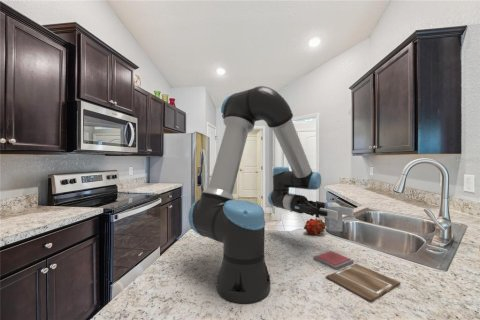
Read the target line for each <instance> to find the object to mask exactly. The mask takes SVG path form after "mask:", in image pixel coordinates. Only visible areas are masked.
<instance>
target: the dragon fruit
mask: <svg viewBox="0 0 480 320" xmlns="http://www.w3.org/2000/svg"><path fill="white" fill-rule="evenodd" d="M303 230H305V233H306V234H308V235H315V236H316V237H317V236H318V235H321V233H324V232H326V225H325V221H323V219H318V218H316V217H315V218H310V219H309V220H306V221H305V224H304V226H303Z"/></svg>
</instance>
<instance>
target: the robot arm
mask: <svg viewBox="0 0 480 320" xmlns="http://www.w3.org/2000/svg"><path fill="white" fill-rule="evenodd" d="M220 109H221V110H220V111H221V114H222V115H221V116H222V117H221V118H222V119H223V124H224V126H225V128H224V132H223V135H222V140H221V143H220V145H219V146H220V147H219V148H218V149H219V150H218V152H217V156H216V160H215V164H214V167H213V170H212V173H211V177H210V180H209V184H208V187H207V188H205V189H204V190H203V191H201V195H200V197H199V199H197V200H195V201H194V202H193V203H192V204H191V206H190V207H189V210H188V223H189V226H190V227H191V229H192V230H193V232H195V233H197V234H198V235H199V236H201V237H204V238H208V239H211V240H214V241H215V242H219V243H221V244H223V246H222V247H223V249H222V250H223V254H222V261H221V264H220V268H219V271H218V273H217V277H216V291H217V293H218V294H219V295H220V296H221V297H222V298H223V299H225V300H227V301H229V302H233V303H237V304H251V303H253V304H254V303H257V302H259V301H261V300H263V299H265V298H267V296H268V295H269V294H270V292H271V283H272V282H271V277H270V274H269V271H268V270H269V269H268V267H267V263H266V260H265V236H266V235H265V233H266V231H265V229H266V228H265V227H266V220H265V211H264V208H263V207H262V206H261V205H260V204H258V203H256V202H254V201H250V200H242V199H235V198H234V195H233V193H234V190H235V185H236V181H237V177H238V173H239V169H240V166H241V162H242V159H243V153H244V150H245V147H246V143H247V139H248V135H249V133H251V132H252V131H253V130H254V127H255V124H256V122H258V121H264V122H265V123H266V125H267V127H268V128H270V129H272V131H273V133H274V135H275V138H276V139H277V141H278V143H279V146H280V148H281V150H282V152H283V154H284V157H285V158H286V161H287V163H288V165H289V167H288V166H274V167H273V169H272V170H273V171H272V191H270V193H269V195H268V197H267V199H268V203H269V204H270V205H271V206H272V207H275V208H279V209H283V210H286V211H289V212H290V213H293V212H295V213H297V214H301V215H302V214H306V215H309V216H310V217H311V216H312V217H314V216H315V219H316V218H317V219H318V218H320V217H323V218H325V217H327V218H330V219H334V220H338V211H333V210H328V209H324V205H325V203H326V202H325V201H324V202H323V201H319V200H318V201H317V200H316V201H313V200H309V199H308V198H307V197H306V196H305V195H302V194H297V193H290V188H291V189H299V190H300V189H302V190H309V191H310V190H313V191H315V190H319V189H320V188H321V185H322V176H321V174H320V173H319V172H318V171H313V170H312V168H311V164H310V163H309V161H308V158H307V155H306V153H305V149H304V147H303V144H302V142H301V140H300V137H299V135H298V132H297V129H296V128H295V124H294V122H293V120H292V119H293V118H294V114H293V112H292V109H291V107H290V105H289V104H288V102H287V100H286V99H285V98H284V96H282V95H281V94H280V93H279V91H276V90H275V89H273V88H271V87H269V86H268V87H267V86H264V85H263V86H262V85H259V86H255V87H253V88H250V89H246V90H243V91H240V92H235V93H233V94H231V95H229V96H227V97H225V99H224V100H223V101H222V105H221V108H220ZM290 169H291V170H290ZM336 203H337V204H339V203H338V202H336ZM340 206H341V207H342V216H343V215H344V216H348V217H354V211H355V209H354V208H351V207H346V206H343V205H340Z"/></svg>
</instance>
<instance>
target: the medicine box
mask: <svg viewBox="0 0 480 320" xmlns="http://www.w3.org/2000/svg"><path fill="white" fill-rule="evenodd" d="M324 203H325V205H324V209H328V210H333V211H338V220H334V219H330V218H327V217H324V223H325V228H327V229H328V231H329V232H340V233H342V232H343V214H342V207H343V206H342V205H340V204H339V203H338V202H329V201H328V202H324ZM337 203H338V204H337ZM341 206H342V207H341Z"/></svg>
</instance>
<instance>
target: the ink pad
mask: <svg viewBox="0 0 480 320" xmlns="http://www.w3.org/2000/svg"><path fill="white" fill-rule="evenodd" d="M312 260H314V261H315V262H318V263H320V264H323V266H327V267H329V268H331V269H333V270H334V271H337V270H338V271H339V270H341V269H342V268H346V267H348V266H351V265H352V264H354V259H352V258H349V257H347V256H344V255H341V254H340V253H336V252H335V251H332V250H330V251H326V252H323V253H320V254H318V255H314V256H313V259H312Z"/></svg>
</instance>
